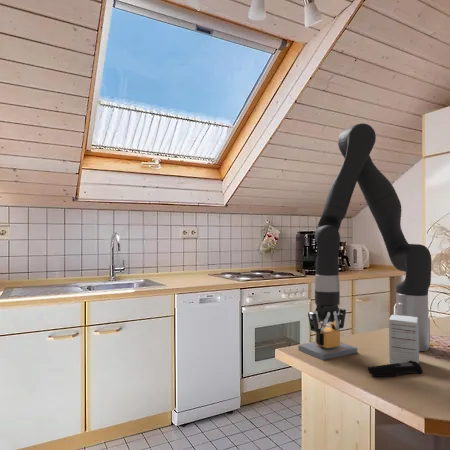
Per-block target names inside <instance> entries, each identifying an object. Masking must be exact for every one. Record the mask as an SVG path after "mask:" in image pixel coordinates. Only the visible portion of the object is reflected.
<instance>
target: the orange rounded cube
mask: <svg viewBox="0 0 450 450" xmlns="http://www.w3.org/2000/svg"><path fill="white" fill-rule="evenodd" d="M314 332H315V331H314ZM323 334H324V345H323V346H322V347H325V348H332V347H338V346H340V342H341V331H340V330H339V331H338V330H335V329H332V328H331V327H328V326H326V327H325V328H324V332H323ZM314 336H315V338H316V332H315V335H314ZM315 342H316V341H315ZM316 344H317V342H316ZM317 345H318V344H317ZM319 346H320V345H319Z"/></svg>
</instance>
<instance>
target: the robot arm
mask: <svg viewBox="0 0 450 450" xmlns="http://www.w3.org/2000/svg"><path fill="white" fill-rule="evenodd" d="M376 135H377V134H376V132H375V129H374V128H373V127H372V126H371V125H370V124H367V123H362V122H361V123H358V124H354V125H352V126H350V127H347V128H346V129H344V130H342V131H341V132H340V133H339V135H338V139H337V145H338V150H339V151H340V154H341V155H342V156H343V158H344V160H343V163H342V166H341V168H340V169H339V172H338V173H337V175H336V177H335V179H334V180H333V182H332V184H331V186H330V189H329V190H328V194H327V197H326V199H325V203H324V207H323V209H322V210H323V211H322V213H321V217H320V219H319V221H318V223H317V226H316V228H315V232H314V241H315V242H316V258H315V277H314V304H315V305H316V307H315V311H312V312H311V311H309V312H308V313H307V315H308V316H307V317H308V322H309V323H308V324H309V328H310V331H312V332H316V337H315V342H317V344H318V345H320V346H323V345H324V334H323V332H324V328H327V325H328V323H329V325H330V328H332V329H335V330H338V331H340V329H343V328H344V327H345V321H346V313H347V310H346V309H345V308H340V307H339V305H340V301H341V297H340V296H341V295H340V294H341V293H340V291H341V290H340V289H341V288H340V286H341V285H340V283H341V282H340V274H339V271H340V270H339V269H340V266H339V255H340V249H341V248H340V247H341V235H340V232H339V231H340V227H341V224H342V221H343V220H344V219H345V217H346V215H347V213H348V212H347V211H348V209H349V206H350V203H351V199H352V196H353V193H354V190H355V188H356V185H357V184H358V187H359V188H360V191H361V193H362V195H363V197H364V200H365V201H366V204H367V206H368V209H369V211H370V213H371V215H372V217H373V219H374V220H375V223H376V225H377V228H378V230H379V232H380V234H381V236H382V237H381V238H382V240H383V242H384V246H385V248H386V251H387V254H388V257H389V259H390V262H391V264H392V266H393V267H394V268H395V269H396V270H398V271H400V272H404V273H405V278H404V280H403V281H402V282H399V283H397V284H396V286H395V289H396V290H395V291H396V292H395V295H396V296H395V297H396V298H395V300H396V310H395V311H396V315H401V316H412V317H418V331H419V352H425V351H429V348H431V318H430V317H429V289H430V286H431V283H432V264H433V263H432V254H431V251H430V250H429V248H428V247H427V246H425V245H423V244H419V243H417V244H416V243H409V242H408V240H407V238H406V237H405V235H404V233H403V230H402V225H401V223H402V222H401V221H402V204H401V200H400V198H399V196H398V194H397V191H396V189H395V188H394V186H393V184H392V183H391V182H390V180H389V179H388V178H387V177H386V176H385V174H383V173H382V172H381V171H380V170H379V168H378V167H377V166H376V165H375V163H374V162H373V160H372V158H371V156H370V154H371V152H372V151H373V148H374V146H375V144H376V139H377V137H376Z"/></svg>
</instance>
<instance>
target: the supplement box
mask: <svg viewBox="0 0 450 450" xmlns="http://www.w3.org/2000/svg"><path fill="white" fill-rule="evenodd" d="M388 331H389V332H388V337H389V338H388V342H389V343H388V346H389V348H388V349H389V352H388V353H389V357H388V359H389V364H396V363H407V362H409V361H415V362H417V363H418V364H419V365H420V351H419V331H418V317H412V316H401V315H397V314H391V315H390V317H389V319H388Z"/></svg>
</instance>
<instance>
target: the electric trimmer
mask: <svg viewBox="0 0 450 450" xmlns="http://www.w3.org/2000/svg"><path fill="white" fill-rule="evenodd" d="M367 372H368V373H369V374H370V375H372V376H374V377H396V376H398V375H405V374H414V373H418V374H420V375H422V374H423V373H424V370H423V368H422V366H421V365H420V363H419V364H418V363H417V362H415V361H409V362H407V363H396V364H390V363H388V364H381V365H380V364H379V365H374V366H368V367H367Z"/></svg>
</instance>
